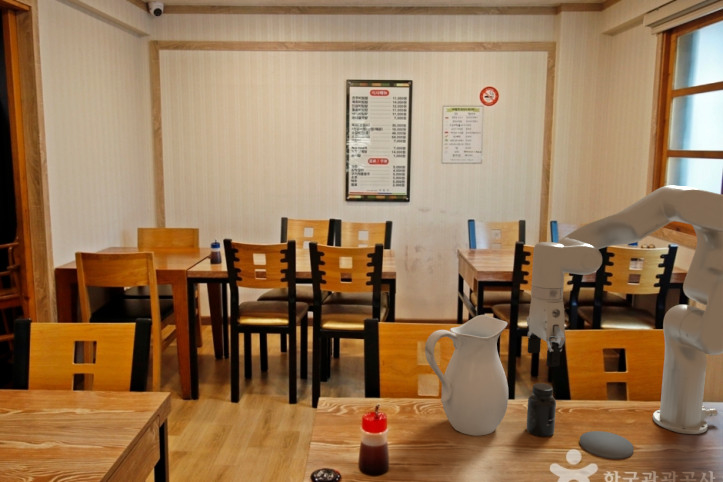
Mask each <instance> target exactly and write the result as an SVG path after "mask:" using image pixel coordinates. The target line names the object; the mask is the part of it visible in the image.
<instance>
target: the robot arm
mask: <svg viewBox="0 0 723 482" xmlns="http://www.w3.org/2000/svg"><path fill="white" fill-rule="evenodd" d="M672 222H678V223H683V224H687V225H690V226H691V227H693V230H694V233H695V235H696V245H695V250H694V254H693V257H692V259H691V262H690V265H689V268H688V270H687V272H686V276H685V278H684V281H683V284H682V285H683V286H682V290H683V293H684V295H685V296H686V297H687V298H689V299H690V300H692V301H694V302H696V303H699V304H702V305H703V306H705V309H704V310H703V309H702V308H699V307H697V306H693V305H689V304H678V305H677V304H676V305H675V306H672V307H671V308H669V309H668V311H666V313H665V315H664V317H663V324H662V327H663V328H662V330H663V337H664V361H663V371H662V384H661V395H660V396H661V397H660V407H659V409H658V410H655V411H654V412H653V414H652V419H653V421H654V423H656V424H657V425H658V426H660V427H662V428H663V429H666V430H669V431H672V432H675V433H679V434H685V435H698V434H703V433H705V432H707V430H708V425H709V424H708V422H707V421H706V420H705V419H707V418H708V417H717V416H718V410H717V409H716V408H707V409H706V407H705V405H703V403H704V393H705V381H706V372H707V365H708V364H707V355H710V356H718V355H722V354H723V194H722V193H717V192H712V191H708V190H704V189H700V188H696V187H690V186H681V185H665V186H661V187H659V188H657V189H655V190H654V191H652V192H650V193H649V194H647V195H646V196H643V197H642V198H641V199H639V200H637V201H636V202H634V203H632V204H631V205H629V206H627V207H626V208H624V209H622V210H620V211H619V212H616V213H614V214H611V215H608V216H606V217H603V218H599V219H597V220H595V221H592V222H589V223H586V224H584V225H582V226H580V227H579V228H577V229H575V230H573V231H572V232H570V233H568V234H567V235H565V236H564V237H562V238H561V239H560V240H559V241H558V242H551V241H540V242H538V243H536V244H535V245H534V246H533V251H532V252H533V257H532V273H531V276H532V277H531V289H530V298H531V299H530V306H529V312H528V313H529V314H528V316H527V317H526V329H527V353H528V354H539V353H540V352H541V343H542V341H541V340H543V341H544V342H546V344H547V347H548V350H547V352H546V367H548V368H554V367H556V368H558V367H559V366H560V365H561V352H562V351H563V348H564V347H565V342H566V336H565V329H566V327H565V320H566V319H565V316H566V315H565V306H564V305H565V304H564V301H563V300H564V287H565V285H564V284H565V274H566V273H568V274H573V275H574V274H575V275H581V276H583V275H584V276H585V275H586V276H587V275H591V274H593V273H595V272H597V271H598V270H599V269H600V267H601V266H602V264H603V256H602V253H601V251H600V249H604V248H607V247H613V246H620V245H621V246H622V245H623V246H624V245H629V244H634V243H638V242H640V241H643V240H644V239H645V238H648V237H649V236H651V235H652V234H654V233H655V232H657V231H658V230H660V229H662V228H663V227H666V226H667V225H669V224H670V223H672ZM553 343H554V344H553Z"/></svg>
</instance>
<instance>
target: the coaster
mask: <svg viewBox="0 0 723 482" xmlns="http://www.w3.org/2000/svg"><path fill="white" fill-rule="evenodd" d="M579 444H580V446H581V447H582V449H584V450H586V451H587V452H588V453H590V454H592V455H594V456H597V457H601V458H606V459H612V460H613V459H614V460H615V459H616V460H620V459H621V460H622V459H627V458H630V457H631V456H632V455H633V454H634V445H633V444H632V442H631V441H630V440H629V439H627V438H625V437H624V436H621V435H618V434H617V433H613V432H608V431H600V430H593V431H587V432H584V433H583V434H581V435H580V437H579Z"/></svg>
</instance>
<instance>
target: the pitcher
mask: <svg viewBox="0 0 723 482" xmlns="http://www.w3.org/2000/svg"><path fill="white" fill-rule="evenodd" d="M507 326H508V321H504V320H501V319H499V318H495V317H492V316H489V315H487V314H480V315H476V316H474V317H473V318H471V319H470V320H468V321H466V322H465V323H463V324H461V325H459V326H456V327H455V326H454V327H451V328H450V329H449V330H447V329H438V330H435V331H433V332H432V333H430V335H429V336H428V337H427V340H426V341H425V346H424V353H425V359H426V362H427V363H428V365H429V366H430V368H431V369H432V371H433V372H434V374H435V375H436V376H437V377H438V379H439V380H440V383H441V397H440V402H441V403H442V407H443V408H442V409H443V411H444V413H445V416H446V418H447V420H448V421H449V423H450V425H451V426H452V427H453V429H454V430H456V431H457V432H460V433H461V434H464V435H469V436H473V437H478V436H479V437H480V436H486V435H489V434H492V433H493V432H495V431H496V429H497V428H498V427H499V425H501V423H502V421H503V419H504V417H505V415H506V413H507V409H508V404H509V403H508V402H509V386H508V385H509V384H508V380H507V376H506V373H505V369H504V367H503V364H502V362H501V359H500V356H499V352H498V346H497V343H498V339H499V337H500V335H502V334H501V333H503V331H504V330H505V329H506V328H507ZM442 338H448V339H450V340H452V344H453V347H454V351H453V353H452V356H451V358H450V360H449V362H448V364H447V367H446V369H445V371H444V372H445V373H443V372H442V370H441V368H440V367H439V365H438V364H437V361H436V359H435V347H436V344H437V343H438V342H439V340H440V339H442Z"/></svg>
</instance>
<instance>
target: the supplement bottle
mask: <svg viewBox="0 0 723 482" xmlns="http://www.w3.org/2000/svg"><path fill="white" fill-rule="evenodd" d="M553 390H554V388H553V386H552V385H550V384H547V383H544V382H537V383H533V384H532V391H531V394H530V395H529V396H528V398H527V409H526V410H527V413H526V414H527V416H526V431H527V432H529V434H531V435H533V436H536V437H542V438H545V437H546V438H547V437H551V436H552V435H554V433H555V427H556V425H555V424H556V411H557V408H556V407H557V401H556V399H555V398H554V396H553V392H554V391H553Z"/></svg>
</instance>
